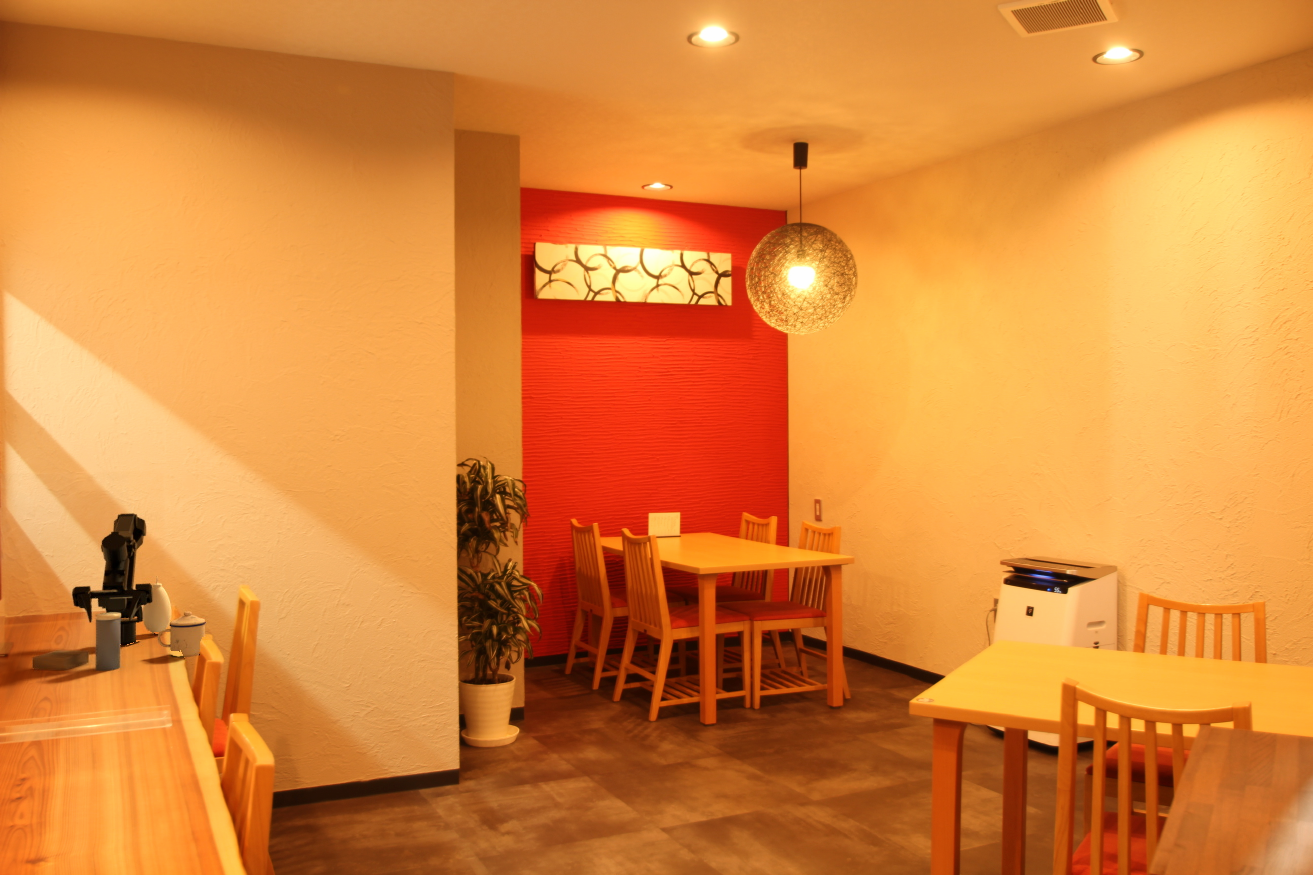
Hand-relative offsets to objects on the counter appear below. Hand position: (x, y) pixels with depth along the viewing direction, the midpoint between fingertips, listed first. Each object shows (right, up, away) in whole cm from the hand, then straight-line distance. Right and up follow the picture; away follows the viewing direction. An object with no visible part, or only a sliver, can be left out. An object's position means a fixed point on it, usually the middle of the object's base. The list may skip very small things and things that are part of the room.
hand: (110, 620), depth 260 cm
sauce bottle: (-9, -12, +42) cm, 44 cm away
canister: (+1, -12, -4) cm, 12 cm away
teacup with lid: (+12, -12, +13) cm, 22 cm away
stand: (-12, -12, -1) cm, 17 cm away
